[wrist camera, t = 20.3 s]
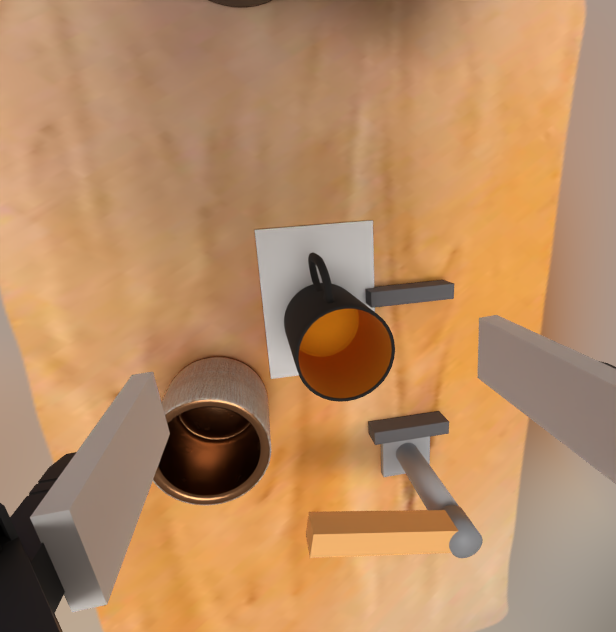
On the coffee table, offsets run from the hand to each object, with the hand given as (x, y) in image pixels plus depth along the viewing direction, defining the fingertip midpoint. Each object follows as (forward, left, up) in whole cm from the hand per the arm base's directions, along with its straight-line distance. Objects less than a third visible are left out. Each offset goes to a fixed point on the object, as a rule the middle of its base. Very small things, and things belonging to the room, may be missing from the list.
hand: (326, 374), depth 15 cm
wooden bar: (+22, +7, -13) cm, 27 cm away
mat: (+3, +4, -24) cm, 25 cm away
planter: (+13, -8, -25) cm, 29 cm away
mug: (+3, +4, -24) cm, 25 cm away
